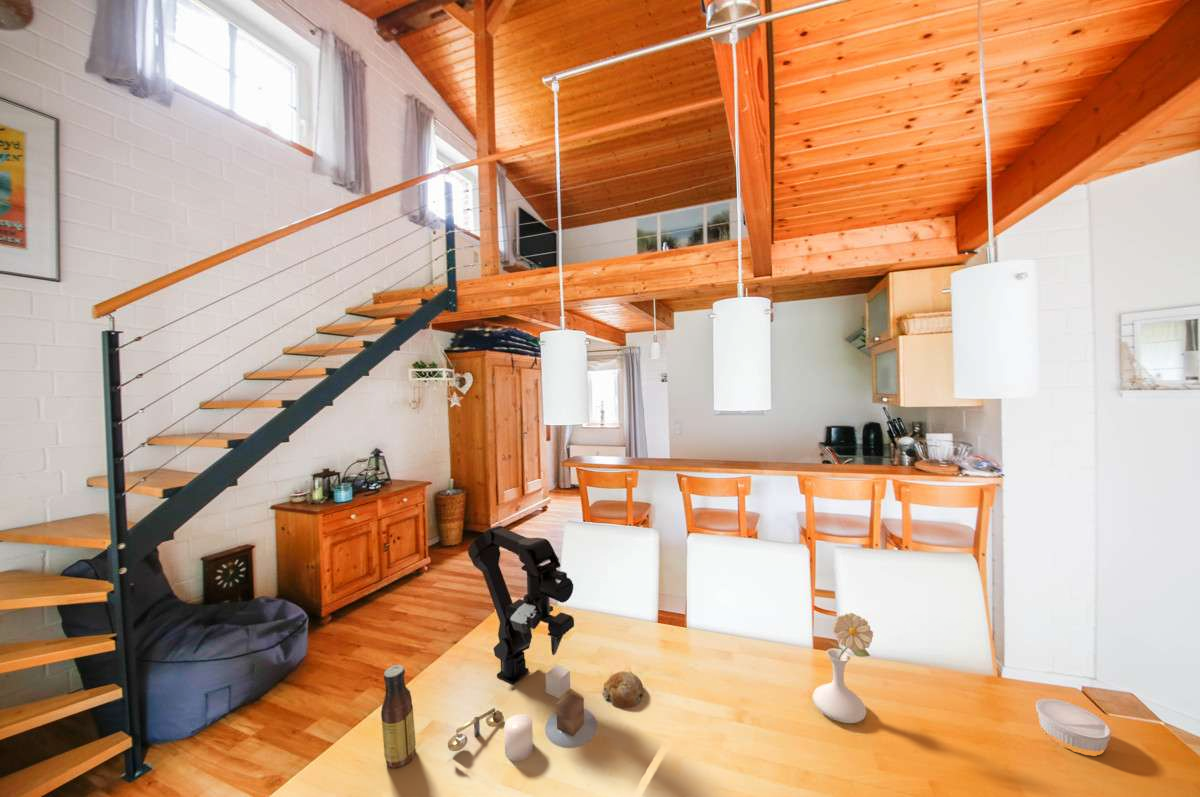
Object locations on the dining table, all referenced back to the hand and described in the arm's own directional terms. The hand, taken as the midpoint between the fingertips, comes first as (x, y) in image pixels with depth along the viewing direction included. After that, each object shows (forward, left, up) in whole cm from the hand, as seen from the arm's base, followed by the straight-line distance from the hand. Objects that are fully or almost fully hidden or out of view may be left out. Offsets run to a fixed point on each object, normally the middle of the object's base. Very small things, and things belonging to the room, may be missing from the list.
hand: (540, 648), depth 113 cm
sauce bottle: (-14, -31, -12) cm, 36 cm away
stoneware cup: (+8, -17, -12) cm, 22 cm away
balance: (-3, -19, -12) cm, 23 cm away
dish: (+14, -6, -12) cm, 19 cm away
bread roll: (+19, +9, -12) cm, 25 cm away
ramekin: (+110, +48, -12) cm, 121 cm away
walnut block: (+14, -6, -11) cm, 19 cm away
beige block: (+4, +2, -12) cm, 13 cm away
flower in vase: (+67, +32, -12) cm, 75 cm away
